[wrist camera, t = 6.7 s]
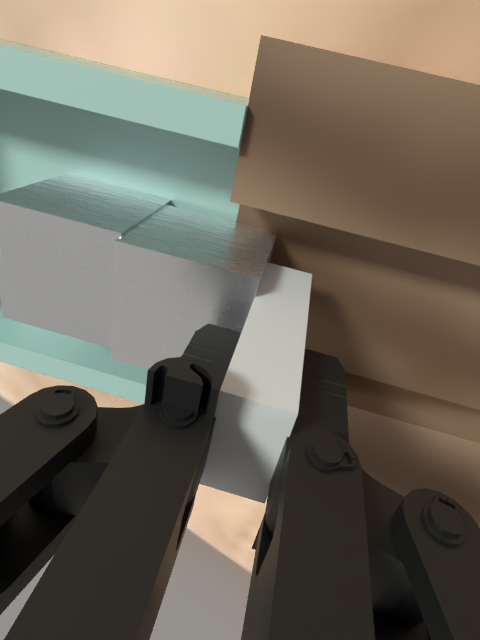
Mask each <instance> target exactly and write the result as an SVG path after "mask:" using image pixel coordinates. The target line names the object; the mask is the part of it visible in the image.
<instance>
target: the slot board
mask: <svg viewBox="0 0 480 640" xmlns="http://www.w3.org/2000/svg"><path fill="white" fill-rule="evenodd" d="M230 202H234V203H238V204H240V205H239V210H238V215H237V220H236V222H237V223H241V224H244V225H248V226H252V227H256V228H260V229H264V230H268V231H272V232H276V233H277V237H276V241H275V245H274V249H273V253H272V257H271V261H270V263H272V264H276V265H280V266H284V267H287V268H291V269H295V270H299V271H303V272H307V273H310V274H312V281H311V291H310V301H309V311H308V321H307V331H306V341H305V349H308V350H312V351H316V352H319V353H323V354H327V355H330V356H334V357H337V358H338V360H339V362H340V363H341V365H342V367H343V368H344V370H345V375H346V394H347V397H346V399H347V412H348V431H349V444H350V446H351V447H352V448H353V450H354V451H355V452H356V454H357V455H358V458H359V461H360V464H361V468H362V469H363V470H364V471H365V472H366V473H367V474H369V475H370V476H371V477H372V478H374V479H375V480H377V481H378V482H380V483H381V484H383V485H385V486H386V487H388V488H390V489H392V490H393V491H395V492H397V493H399V494H400V495H402V496H404V497H405V496H406V495H407V494H409V493H410V492H411V491H412V490H414V489H423V488H427V489H431V490H434V491H438V492H441V493H443V494H445V495H446V496H448V497H450V498H452V499H453V500H455V501H456V502H457V503H459V504H460V505H461V506H462V507H463V508H464V509H465V510H466V511H468V512H469V514H470V515H471V516H472V518H473V519H474V520H475V522H476V523H477V524H478V526H480V85H476V84H472V83H467V82H463V81H459V80H454V79H450V78H446V77H441V76H437V75H432V74H428V73H424V72H419V71H415V70H411V69H406V68H402V67H398V66H393V65H389V64H384V63H380V62H376V61H371V60H367V59H363V58H358V57H354V56H349V55H345V54H341V53H336V52H332V51H328V50H323V49H319V48H315V47H310V46H306V45H301V44H297V43H293V42H288V41H284V40H280V39H275V38H271V37H267V36H262V35H261V39H260V44H259V50H258V55H257V60H256V66H255V71H254V76H253V82H252V87H251V92H250V98H249V103H248V108H247V114H246V119H245V125H244V130H243V135H242V141H241V146H240V151H239V157H238V162H237V167H236V173H235V178H234V184H233V189H232V194H231V200H230Z"/></svg>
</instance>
